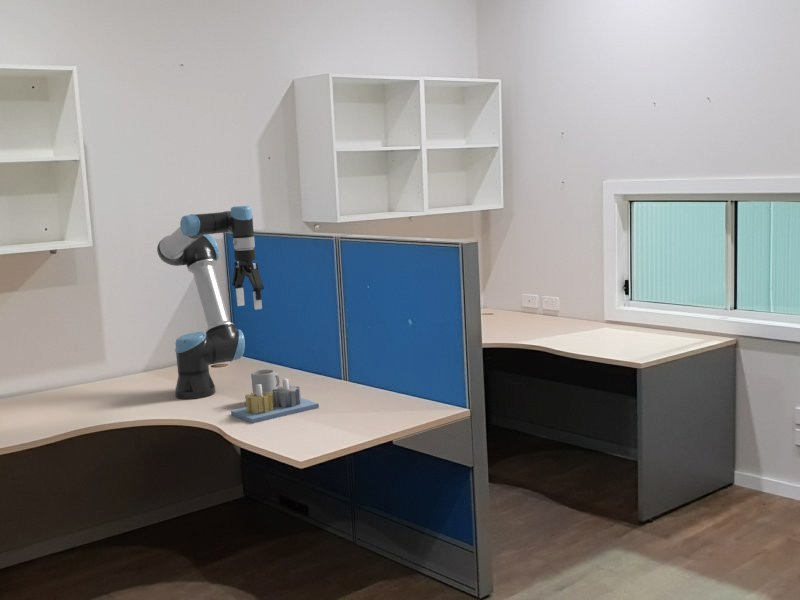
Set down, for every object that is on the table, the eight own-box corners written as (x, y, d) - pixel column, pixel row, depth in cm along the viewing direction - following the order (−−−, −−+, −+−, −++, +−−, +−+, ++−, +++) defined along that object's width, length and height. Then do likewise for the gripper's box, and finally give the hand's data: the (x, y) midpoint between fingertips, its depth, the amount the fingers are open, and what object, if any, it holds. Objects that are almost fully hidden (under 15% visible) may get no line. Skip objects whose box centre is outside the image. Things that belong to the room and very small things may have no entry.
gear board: (231, 414, 325) (228, 385, 323) (296, 400, 340) (293, 371, 338) (252, 423, 312) (249, 392, 310) (318, 407, 327) (316, 378, 325)
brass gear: (241, 410, 323) (240, 395, 323) (266, 405, 329) (264, 389, 328) (254, 415, 316) (253, 399, 315) (279, 409, 321) (278, 394, 320)
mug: (264, 405, 335) (262, 375, 333) (248, 402, 340) (246, 373, 338) (288, 397, 344) (286, 368, 342) (272, 395, 349) (269, 366, 348)
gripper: (219, 248, 342) (225, 305, 345) (251, 251, 322) (256, 312, 325) (238, 246, 347) (243, 303, 350) (270, 249, 327) (275, 309, 330)
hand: (249, 307), depth 338 cm, fingers open, 13 cm apart
